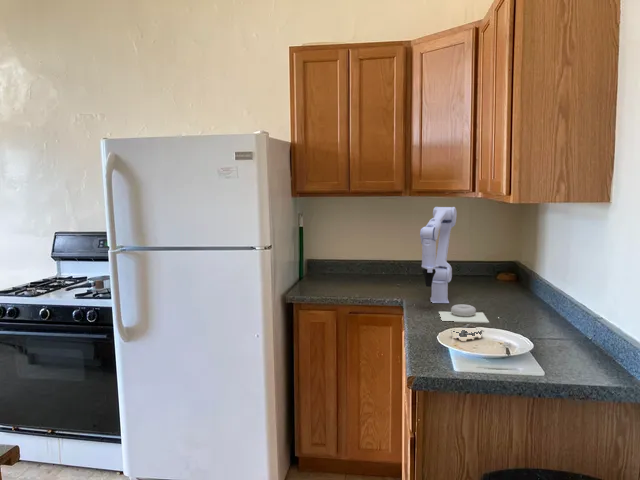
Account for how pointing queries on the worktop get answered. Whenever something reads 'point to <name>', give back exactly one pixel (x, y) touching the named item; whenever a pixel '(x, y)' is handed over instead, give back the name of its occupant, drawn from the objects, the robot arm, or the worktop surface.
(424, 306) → the worktop surface
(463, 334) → the egg carton
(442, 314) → the mat
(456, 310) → the donut
